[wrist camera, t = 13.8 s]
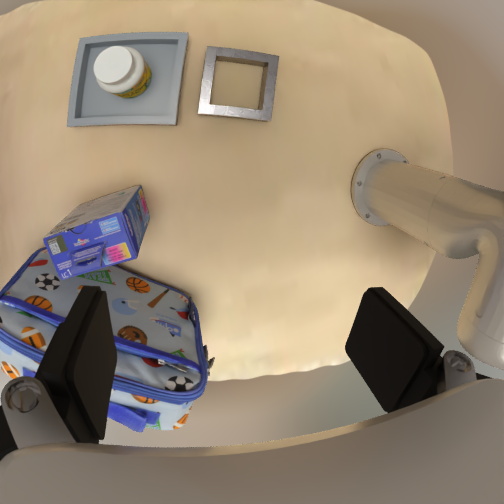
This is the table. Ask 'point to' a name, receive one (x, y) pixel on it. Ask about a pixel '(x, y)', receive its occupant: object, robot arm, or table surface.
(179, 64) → the tray
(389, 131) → the table surface
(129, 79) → the supplement bottle
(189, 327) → the lunch box
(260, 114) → the collar
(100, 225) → the ink cartridge box
